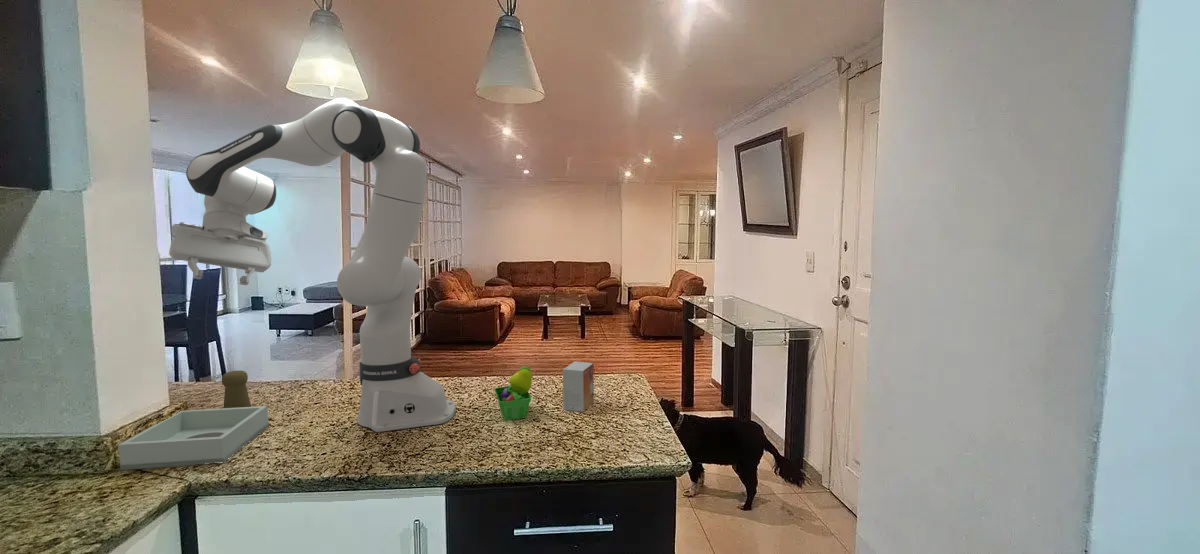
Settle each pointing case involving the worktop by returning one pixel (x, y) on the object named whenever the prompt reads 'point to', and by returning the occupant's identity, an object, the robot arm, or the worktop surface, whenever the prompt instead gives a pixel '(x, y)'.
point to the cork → (235, 389)
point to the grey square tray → (193, 438)
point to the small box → (578, 386)
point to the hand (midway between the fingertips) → (221, 281)
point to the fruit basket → (515, 395)
